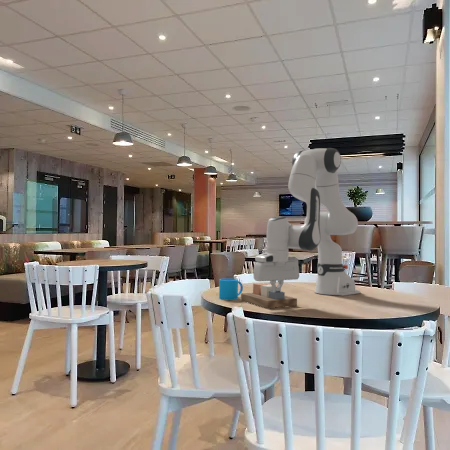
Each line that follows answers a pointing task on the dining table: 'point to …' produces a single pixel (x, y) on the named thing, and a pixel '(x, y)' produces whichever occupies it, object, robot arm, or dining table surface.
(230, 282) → the mug
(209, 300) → the dining table surface
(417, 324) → the dining table surface
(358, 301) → the dining table surface
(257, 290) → the terracotta cube
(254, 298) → the wooden pallet
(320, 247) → the robot arm
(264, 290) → the cream cube
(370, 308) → the dining table surface
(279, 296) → the blue-grey cube
